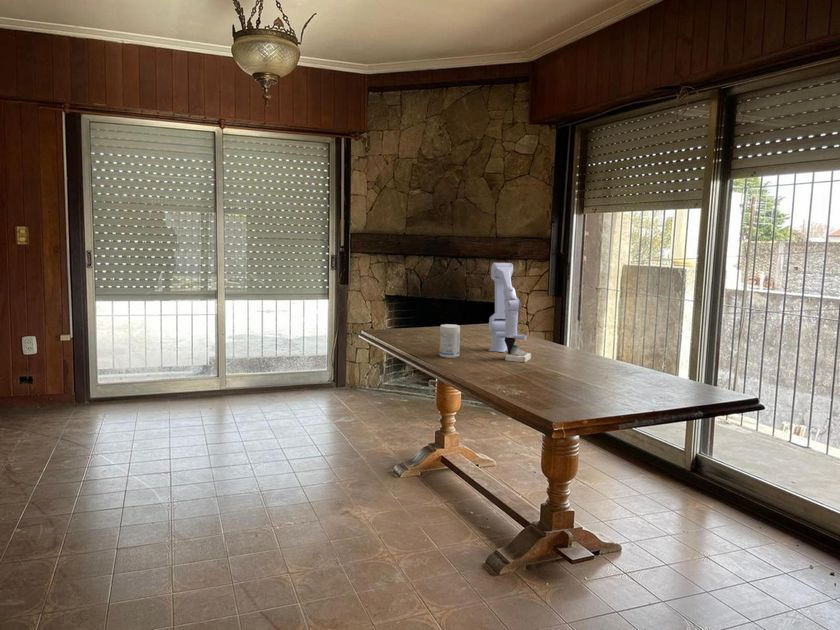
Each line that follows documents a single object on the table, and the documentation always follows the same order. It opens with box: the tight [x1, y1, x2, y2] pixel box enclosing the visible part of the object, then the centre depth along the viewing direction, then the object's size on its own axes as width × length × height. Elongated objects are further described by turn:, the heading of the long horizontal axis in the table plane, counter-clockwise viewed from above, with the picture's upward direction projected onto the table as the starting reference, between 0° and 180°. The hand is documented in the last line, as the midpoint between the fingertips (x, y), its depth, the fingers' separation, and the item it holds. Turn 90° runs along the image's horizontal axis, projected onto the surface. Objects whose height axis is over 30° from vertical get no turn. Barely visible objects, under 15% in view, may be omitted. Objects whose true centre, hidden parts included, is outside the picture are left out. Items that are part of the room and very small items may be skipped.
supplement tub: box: [438, 323, 461, 359], centre depth 300 cm, size 10×10×15 cm
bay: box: [505, 352, 532, 363], centre depth 299 cm, size 11×9×2 cm
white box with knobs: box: [506, 344, 526, 357], centre depth 300 cm, size 7×5×6 cm
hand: (509, 354), depth 299 cm, fingers closed, pressing on white box with knobs
